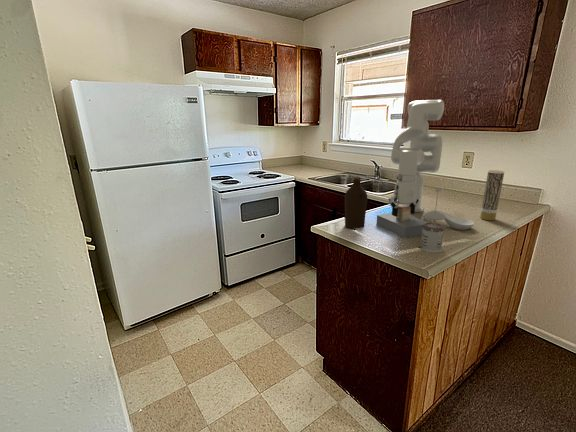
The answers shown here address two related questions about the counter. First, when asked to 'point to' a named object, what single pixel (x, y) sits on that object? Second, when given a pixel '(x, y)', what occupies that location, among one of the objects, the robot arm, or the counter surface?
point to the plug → (403, 213)
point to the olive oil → (355, 205)
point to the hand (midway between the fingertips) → (403, 214)
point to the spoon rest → (454, 221)
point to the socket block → (401, 225)
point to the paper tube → (492, 194)
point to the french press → (431, 238)
